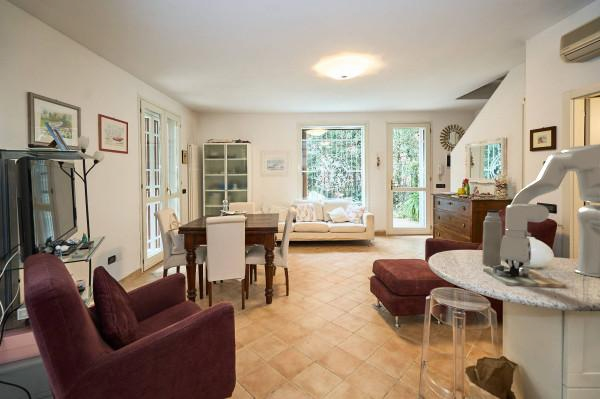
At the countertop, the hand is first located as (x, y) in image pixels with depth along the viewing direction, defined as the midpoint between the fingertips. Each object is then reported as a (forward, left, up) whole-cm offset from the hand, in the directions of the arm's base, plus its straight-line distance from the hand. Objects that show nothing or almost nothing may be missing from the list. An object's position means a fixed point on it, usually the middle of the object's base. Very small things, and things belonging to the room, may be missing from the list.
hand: (514, 276), depth 127 cm
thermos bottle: (-3, -26, -2) cm, 26 cm away
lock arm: (-1, -3, 0) cm, 3 cm away
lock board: (-5, -4, -2) cm, 6 cm away
